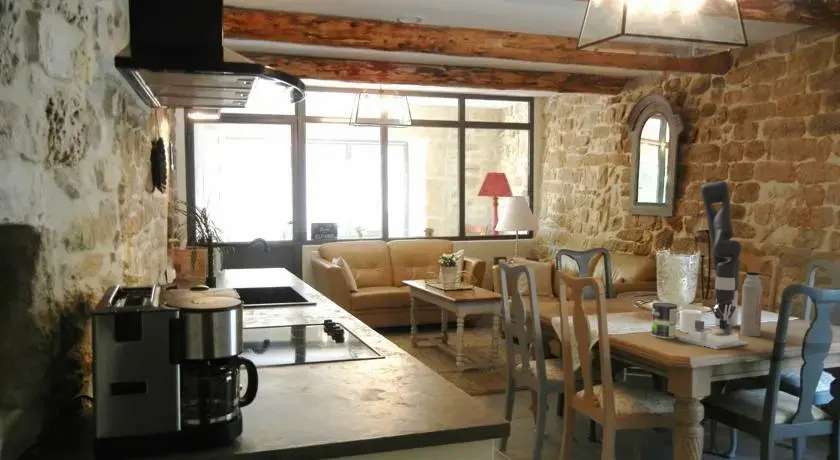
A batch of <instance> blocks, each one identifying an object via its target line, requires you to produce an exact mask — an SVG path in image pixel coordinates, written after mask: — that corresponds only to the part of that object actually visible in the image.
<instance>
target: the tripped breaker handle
mask: <svg viewBox="0 0 840 460" xmlns="http://www.w3.org/2000/svg"><path fill="white" fill-rule="evenodd" d="M722 331H723V332H727V333H733V327H732V324H730V323H727V327H726V329H722Z"/></svg>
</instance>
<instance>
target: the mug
mask: <svg viewBox="0 0 840 460" xmlns="http://www.w3.org/2000/svg"><path fill="white" fill-rule="evenodd" d="M678 314H679V325H677V324H676V329H678V330H679V332H680V333H684V334H688V330H689V329H695V320H700V321H702V311H700V310H695V309H680V310H679V311H677V315H678Z"/></svg>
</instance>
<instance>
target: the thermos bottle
mask: <svg viewBox="0 0 840 460" xmlns="http://www.w3.org/2000/svg"><path fill="white" fill-rule="evenodd" d="M743 282H744V283H743V284H742V291H741V293H742V294H741V310H740V311H741V315H740V317H741V318H740V335H741V336H742V335H743V336H746V337H760V336H761V326H762V323H761V322H762V308H763V307H762V304H763V301H762V300H763V285H762V280H761V279H760V273H759V272H754V271H749V272H746V278H745V279H744V281H743Z"/></svg>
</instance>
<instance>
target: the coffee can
mask: <svg viewBox="0 0 840 460" xmlns="http://www.w3.org/2000/svg"><path fill="white" fill-rule="evenodd" d="M651 306H652V314H651V333H650V334H651V336H652V337H654V338H659V339H668V340H669V339H675V338H676V337H677V336H676V333H677V327H676V325H677V316H678V314H677V312H678V305H677V304H675V303H672V302H658V301H657V302H653V303H652V305H651Z"/></svg>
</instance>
